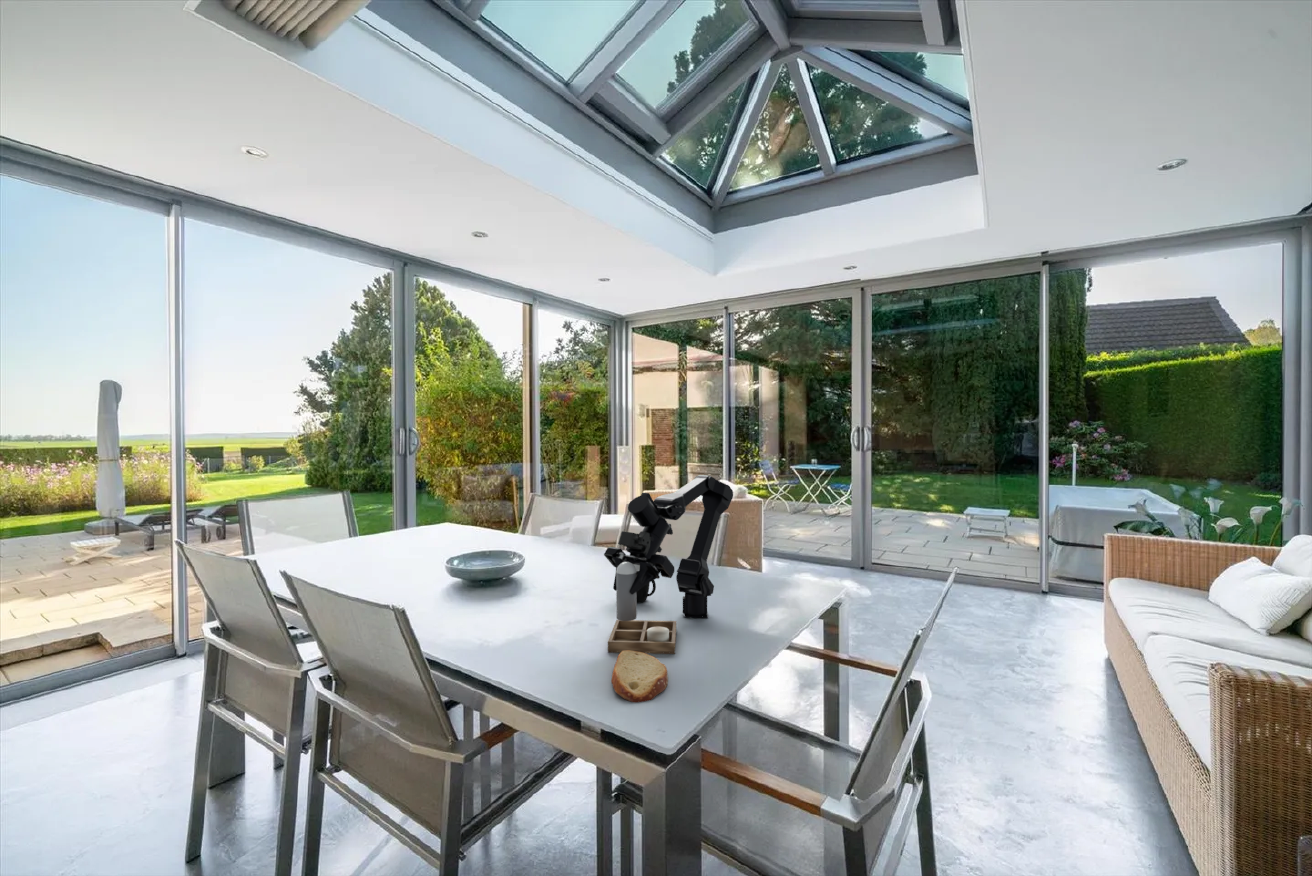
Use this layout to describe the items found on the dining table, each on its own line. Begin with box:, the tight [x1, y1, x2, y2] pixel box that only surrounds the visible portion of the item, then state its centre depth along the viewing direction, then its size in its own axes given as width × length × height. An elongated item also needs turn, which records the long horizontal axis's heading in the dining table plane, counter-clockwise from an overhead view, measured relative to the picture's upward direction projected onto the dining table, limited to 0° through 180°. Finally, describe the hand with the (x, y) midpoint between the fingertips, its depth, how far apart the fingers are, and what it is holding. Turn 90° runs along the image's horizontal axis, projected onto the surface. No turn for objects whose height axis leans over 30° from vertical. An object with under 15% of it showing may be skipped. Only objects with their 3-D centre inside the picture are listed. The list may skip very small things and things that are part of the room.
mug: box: [633, 564, 657, 604], centre depth 173 cm, size 12×9×10 cm
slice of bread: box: [611, 650, 669, 704], centre depth 118 cm, size 18×18×4 cm
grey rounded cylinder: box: [615, 562, 638, 621], centre depth 136 cm, size 5×5×13 cm
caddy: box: [607, 619, 677, 655], centre depth 139 cm, size 16×16×4 cm
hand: (622, 591), depth 135 cm, fingers closed on grey rounded cylinder, 5 cm apart
